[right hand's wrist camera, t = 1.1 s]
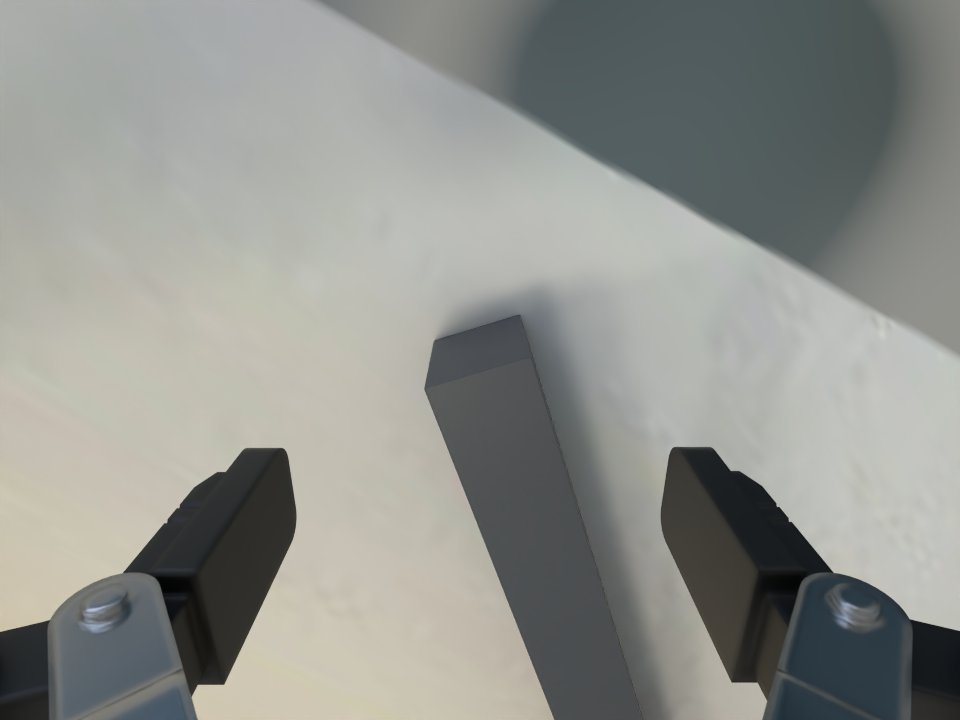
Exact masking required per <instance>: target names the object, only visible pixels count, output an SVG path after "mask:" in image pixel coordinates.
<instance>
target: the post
mask: <svg viewBox="0 0 960 720" xmlns="http://www.w3.org/2000/svg"><path fill="white" fill-rule="evenodd" d="M424 389H425V392H426V394H427V397H428V400H429V402H430V405H431V407H432V410H433V412H434V415H435V417H436V420H437V422H438V425H439V427H440V430H441V433H442V435H443V438H444V440H445V443H446V445H447V448H448V450H449V453H450V455H451V458H452V461H453V463H454V466H455V468H456V471H457V473H458V476H459V478H460V481H461V483H462V486H463V488H464V491H465V494H466V496H467V499H468V501H469V504H470V506H471V509H472V511H473V514H474V516H475V519H476V522H477V524H478V527H479V529H480V532H481V534H482V537H483V539H484V542H485V544H486V547H487V549H488V552H489V555H490V557H491V560H492V562H493V565H494V567H495V570H496V572H497V575H498V577H499V580H500V582H501V585H502V588H503V590H504V593H505V595H506V598H507V600H508V603H509V605H510V608H511V610H512V613H513V616H514V618H515V621H516V623H517V626H518V628H519V631H520V633H521V636H522V638H523V641H524V643H525V646H526V649H527V651H528V654H529V656H530V659H531V661H532V664H533V666H534V669H535V671H536V674H537V677H538V679H539V682H540V684H541V687H542V689H543V692H544V694H545V697H546V699H547V702H548V704H549V707H550V710H551V712H552V715H553V717H554V720H643V718H642V715H641V711H640V708H639V705H638V702H637V698H636V695H635V692H634V688H633V685H632V682H631V679H630V675H629V672H628V669H627V665H626V662H625V659H624V655H623V652H622V649H621V646H620V642H619V639H618V636H617V632H616V629H615V626H614V623H613V619H612V616H611V613H610V609H609V606H608V603H607V600H606V596H605V593H604V590H603V586H602V583H601V580H600V577H599V573H598V570H597V567H596V563H595V560H594V557H593V554H592V550H591V547H590V544H589V540H588V537H587V534H586V530H585V527H584V524H583V521H582V517H581V514H580V511H579V507H578V504H577V501H576V498H575V494H574V491H573V488H572V484H571V481H570V478H569V475H568V471H567V468H566V465H565V461H564V458H563V455H562V452H561V448H560V445H559V442H558V438H557V435H556V432H555V429H554V425H553V422H552V419H551V415H550V412H549V409H548V405H547V402H546V399H545V396H544V392H543V389H542V386H541V382H540V379H539V376H538V373H537V369H536V366H535V363H534V359H533V356H532V353H531V350H530V346H529V343H528V340H527V336H526V333H525V330H524V327H523V323H522V320H521V317H520V315H517V316H514V317H510V318H507V319H504V320H501V321H497V322H494V323H491V324H488V325H484V326H481V327H478V328H475V329H471V330H468V331H465V332H462V333H458V334H455V335H452V336H449V337H445V338H442V339H439V340H436V341H434V344H433V349H432V354H431V358H430V363H429V368H428V373H427V378H426V383H425V388H424Z"/></svg>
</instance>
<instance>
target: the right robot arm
mask: <svg viewBox="0 0 960 720" xmlns="http://www.w3.org/2000/svg"><path fill="white" fill-rule="evenodd" d="M661 525H662V531H663V535H664V538H665V541H666V543H667V545H668V547H669V549H670V552H671V554H672V556H673V558H674V560H675V562H676V564H677V567H678V569H679V571H680V573H681V575H682V577H683V579H684V581H685V584H686V586H687V588H688V590H689V592H690V594H691V596H692V599H693V601H694V603H695V605H696V607H697V609H698V611H699V614H700V616H701V618H702V620H703V622H704V624H705V626H706V628H707V631H708V633H709V635H710V637H711V639H712V641H713V643H714V646H715V648H716V650H717V652H718V654H719V656H720V658H721V660H722V663H723V665H724V667H725V669H726V671H727V673H728V675H729V678H730V680H731V682H758V684H759V686H760V688H761V690H762V692H763V694H764V695H765V697H766V699H767V705H766V708H765V712H764V715H763V719H762V720H960V631H957V630H953V629H948V628H944V627H940V626H935V625H931V624H927V623H923V622H918V621H914V620H910V619H909V618H908V616H907V614H906V613H905V612H904V610H903V609H902V608H901V607H900V606H899V605H898V604H897V603H896V602H895V601H894V600H893V599H892V598H890V597H889V596H888V595H886V594H885V593H883V592H882V591H880V590H879V589H877V588H875V587H874V586H872V585H870V584H868V583H866V582H863V581H861V580H859V579H856V578H853V577H850V576H846V575H842V574H837V573H833V571H832V570H831V569H830V568H829V567H828V565H827V564H826V563H825V562H824V561H823V559H822V558H821V557H820V556H819V555H818V553H817V552H816V551H815V550H814V548H813V547H812V546H811V545H810V544H809V542H808V541H807V540H806V539H805V538H804V536H803V535H802V534H801V533H800V532H799V530H798V529H797V528H796V527H795V525H794V524H793V523H792V522H789V520H788V517H787V516H786V515H785V513H784V512H783V511H782V510H781V509H780V507H777V506H776V502H775V501H774V500H773V499H772V498H771V496H770V495H769V494H768V493H767V492H766V490H765V489H764V488H763V487H762V486H761V485H760V484H758V483H756V482H755V481H753V480H752V479H750V478H749V477H747V476H746V475H744V474H743V473H741V472H740V471H730V470H729V468H728V467H727V466H726V464H725V463H724V462H723V460H722V459H721V458H720V457H719V455H718V454H717V453H716V451H715V450H714V449H713V448H711V447H674V448H672V450H671V452H670V455H669V460H668V466H667V473H666V480H665V486H664V493H663V500H662V506H661ZM295 528H296V506H295V499H294V493H293V486H292V480H291V473H290V466H289V460H288V455H287V453H286V451H285V449H283V448H246V449H244V450H243V451H242V452H241V453H240V455H239V456H238V457H237V458H236V460H235V461H234V462H233V464H232V465H231V466H230V467H229V469H228V470H227V471H226V472H217V473H215V474H214V475H212V476H211V477H209V478H208V479H206V480H205V481H203V482H202V483H200V484H199V485H197V486H196V487H194V488H193V490H192V491H191V492H190V493H189V494H188V496H187V497H186V498H185V499H184V500H183V502H182V503H181V504H180V508H177V509H176V510H175V511H174V512H173V514H172V515H171V516H170V517H169V518H168V522H167V523H164V524H163V526H162V527H161V528H160V529H159V530H158V532H157V533H156V534H155V535H154V536H153V538H152V539H151V540H150V541H149V542H148V544H147V545H146V546H145V547H144V548H143V550H142V551H141V552H140V553H139V554H138V556H137V557H136V558H135V559H134V560H133V562H132V563H131V564H130V565H129V566H128V568H127V569H126V570H125V571H124V572H123V574H118V575H114V576H110V577H107V578H104V579H101V580H99V581H97V582H94V583H92V584H90V585H88V586H86V587H85V588H83V589H81V590H80V591H78V592H77V593H75V594H74V595H72V596H71V597H70V598H68V599H67V600H66V601H65V602H64V603H63V604H62V605H61V606H60V607H59V608H58V609H57V610H56V612H55V613H54V614H53V616H52V618H51V619H50V620H49V621H45V622H41V623H37V624H33V625H28V626H24V627H20V628H16V629H11V630H7V631H3V632H0V720H198V719H197V715H196V712H195V708H194V705H193V701H192V698H191V697H192V695H193V693H194V691H195V689H196V687H197V685H224V684H225V682H226V680H227V677H228V675H229V673H230V671H231V669H232V667H233V665H234V663H235V661H236V658H237V656H238V654H239V652H240V650H241V648H242V646H243V644H244V642H245V639H246V637H247V635H248V633H249V631H250V629H251V627H252V625H253V623H254V620H255V618H256V616H257V614H258V612H259V610H260V608H261V606H262V604H263V601H264V599H265V597H266V595H267V593H268V591H269V589H270V587H271V585H272V583H273V580H274V578H275V576H276V574H277V572H278V570H279V568H280V566H281V564H282V561H283V559H284V557H285V555H286V553H287V551H288V549H289V547H290V545H291V542H292V540H293V537H294V533H295Z"/></svg>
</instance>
